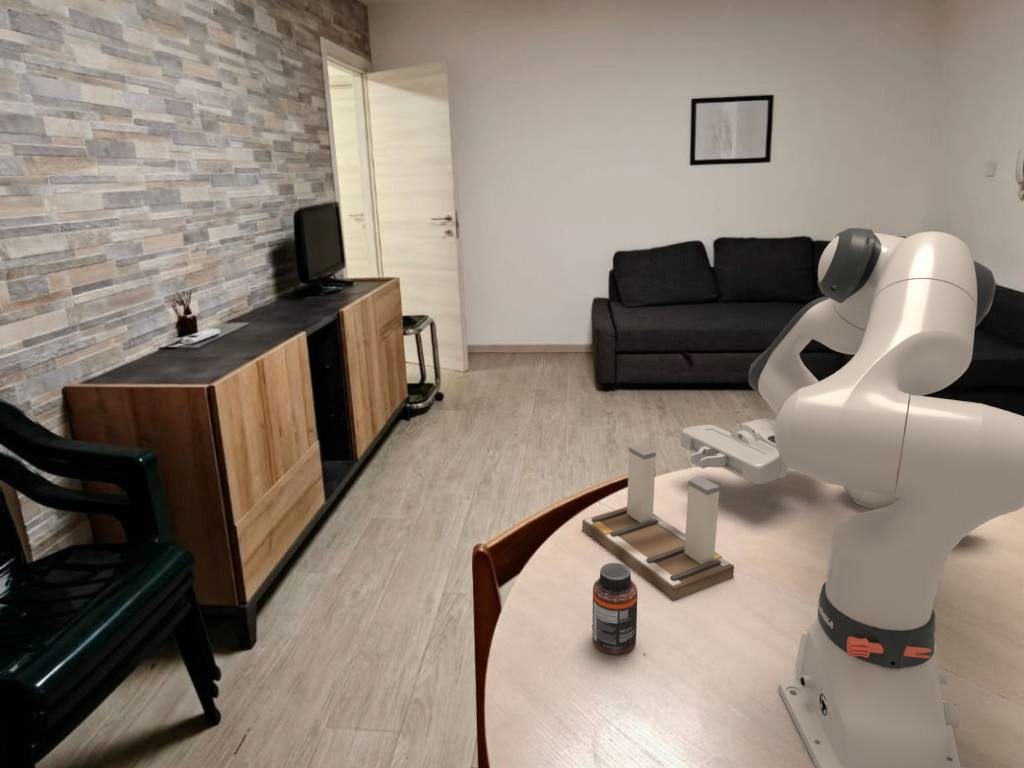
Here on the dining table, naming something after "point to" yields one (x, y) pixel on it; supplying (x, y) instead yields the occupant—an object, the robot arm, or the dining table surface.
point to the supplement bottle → (614, 610)
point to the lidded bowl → (871, 497)
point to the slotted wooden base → (656, 552)
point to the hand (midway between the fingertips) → (695, 461)
